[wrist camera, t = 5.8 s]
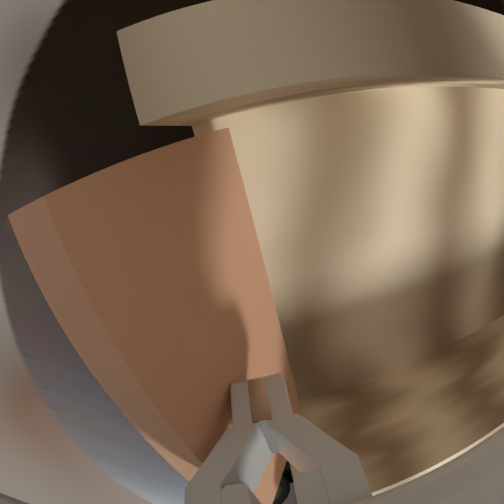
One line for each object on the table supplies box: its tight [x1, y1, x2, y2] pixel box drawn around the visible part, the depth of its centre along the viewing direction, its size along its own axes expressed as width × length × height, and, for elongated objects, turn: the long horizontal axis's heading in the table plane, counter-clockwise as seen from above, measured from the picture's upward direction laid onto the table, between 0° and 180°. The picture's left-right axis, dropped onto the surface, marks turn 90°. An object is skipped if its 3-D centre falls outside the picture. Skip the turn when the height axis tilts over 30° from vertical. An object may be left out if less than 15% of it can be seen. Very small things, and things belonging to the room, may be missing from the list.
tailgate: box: [8, 127, 301, 504], centre depth 10 cm, size 2×14×7 cm, turn 14°
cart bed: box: [117, 0, 504, 496], centre depth 10 cm, size 22×18×8 cm
